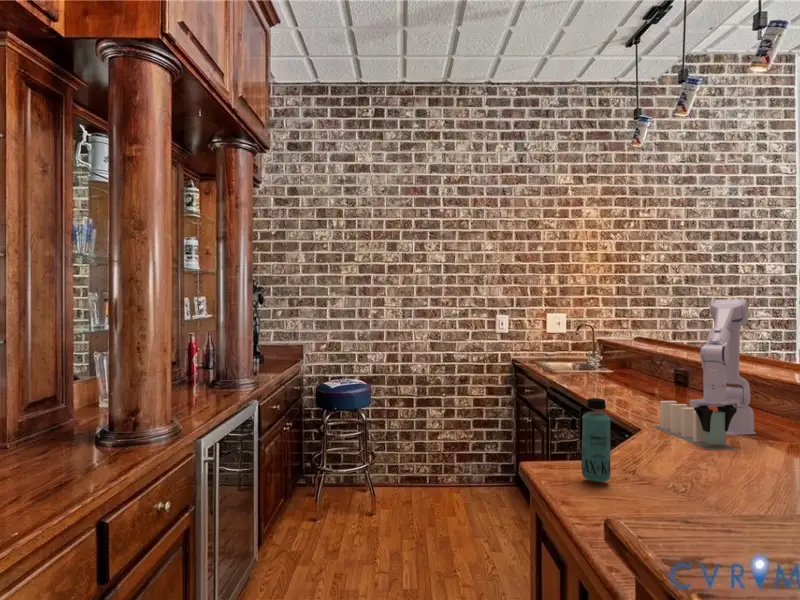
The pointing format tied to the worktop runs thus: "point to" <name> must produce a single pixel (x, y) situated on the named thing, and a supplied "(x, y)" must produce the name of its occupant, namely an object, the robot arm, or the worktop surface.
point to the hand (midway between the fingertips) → (715, 431)
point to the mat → (701, 444)
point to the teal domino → (716, 429)
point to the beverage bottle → (596, 442)
